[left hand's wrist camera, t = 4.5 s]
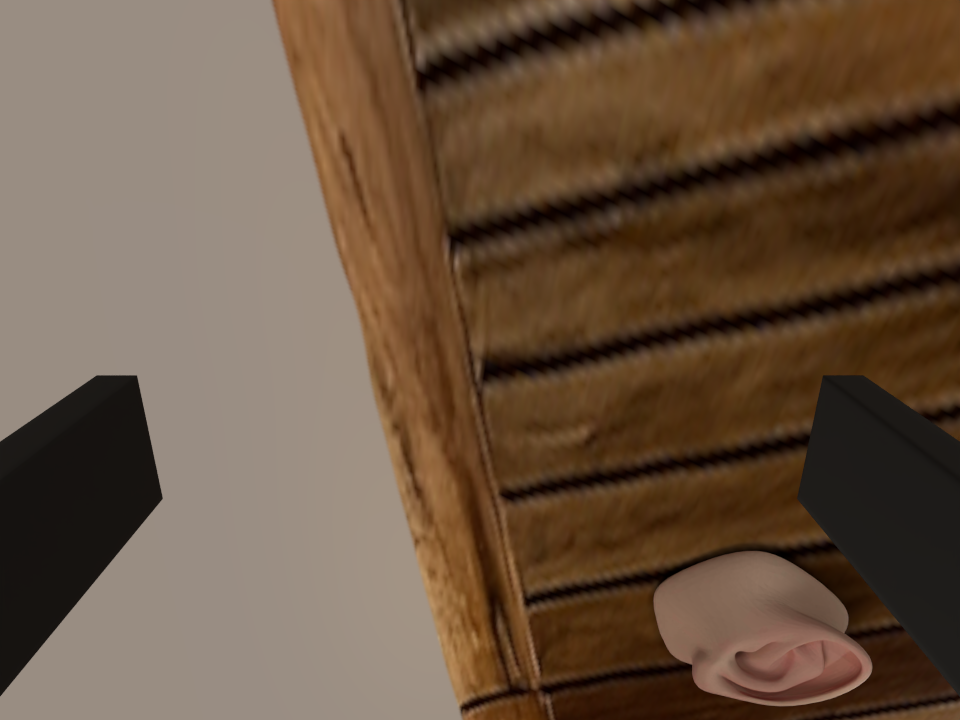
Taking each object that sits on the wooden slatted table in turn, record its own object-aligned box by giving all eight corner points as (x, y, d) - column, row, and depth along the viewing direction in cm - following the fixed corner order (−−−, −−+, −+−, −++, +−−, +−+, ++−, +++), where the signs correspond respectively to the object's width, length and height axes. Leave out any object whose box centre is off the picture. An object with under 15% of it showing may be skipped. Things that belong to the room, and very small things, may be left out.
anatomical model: (635, 651, 41) (787, 551, 38) (623, 607, 45) (760, 513, 42) (752, 758, 45) (899, 674, 42) (731, 708, 48) (865, 628, 46)
